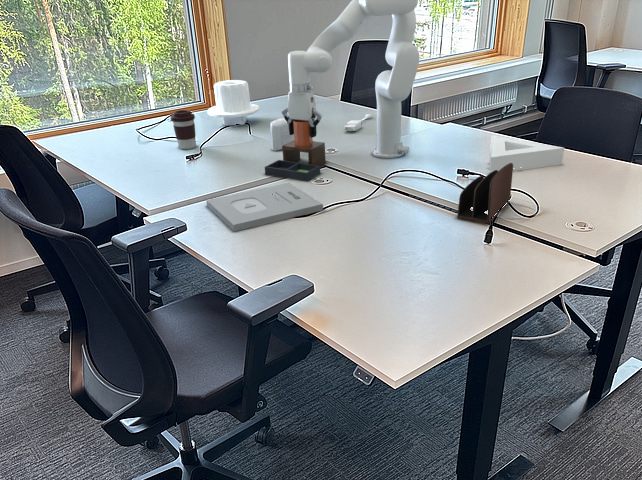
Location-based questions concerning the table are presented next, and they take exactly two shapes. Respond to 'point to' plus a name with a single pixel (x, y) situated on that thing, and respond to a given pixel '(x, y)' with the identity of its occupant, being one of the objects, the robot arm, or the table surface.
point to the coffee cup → (184, 128)
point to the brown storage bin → (314, 152)
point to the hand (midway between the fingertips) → (302, 135)
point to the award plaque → (263, 206)
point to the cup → (302, 133)
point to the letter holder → (486, 196)
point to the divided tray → (292, 170)
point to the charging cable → (355, 124)
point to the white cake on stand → (232, 102)
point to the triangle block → (522, 154)
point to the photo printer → (280, 134)
